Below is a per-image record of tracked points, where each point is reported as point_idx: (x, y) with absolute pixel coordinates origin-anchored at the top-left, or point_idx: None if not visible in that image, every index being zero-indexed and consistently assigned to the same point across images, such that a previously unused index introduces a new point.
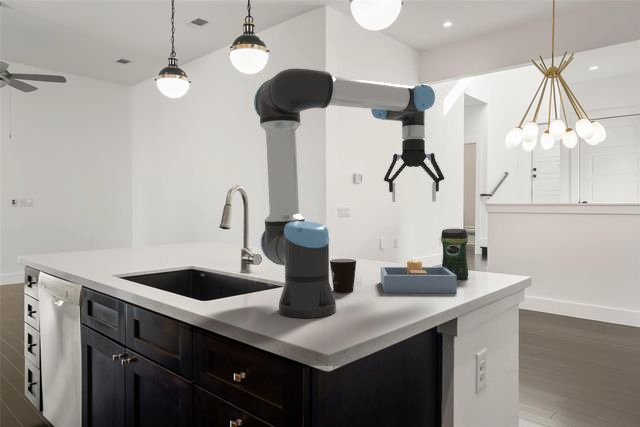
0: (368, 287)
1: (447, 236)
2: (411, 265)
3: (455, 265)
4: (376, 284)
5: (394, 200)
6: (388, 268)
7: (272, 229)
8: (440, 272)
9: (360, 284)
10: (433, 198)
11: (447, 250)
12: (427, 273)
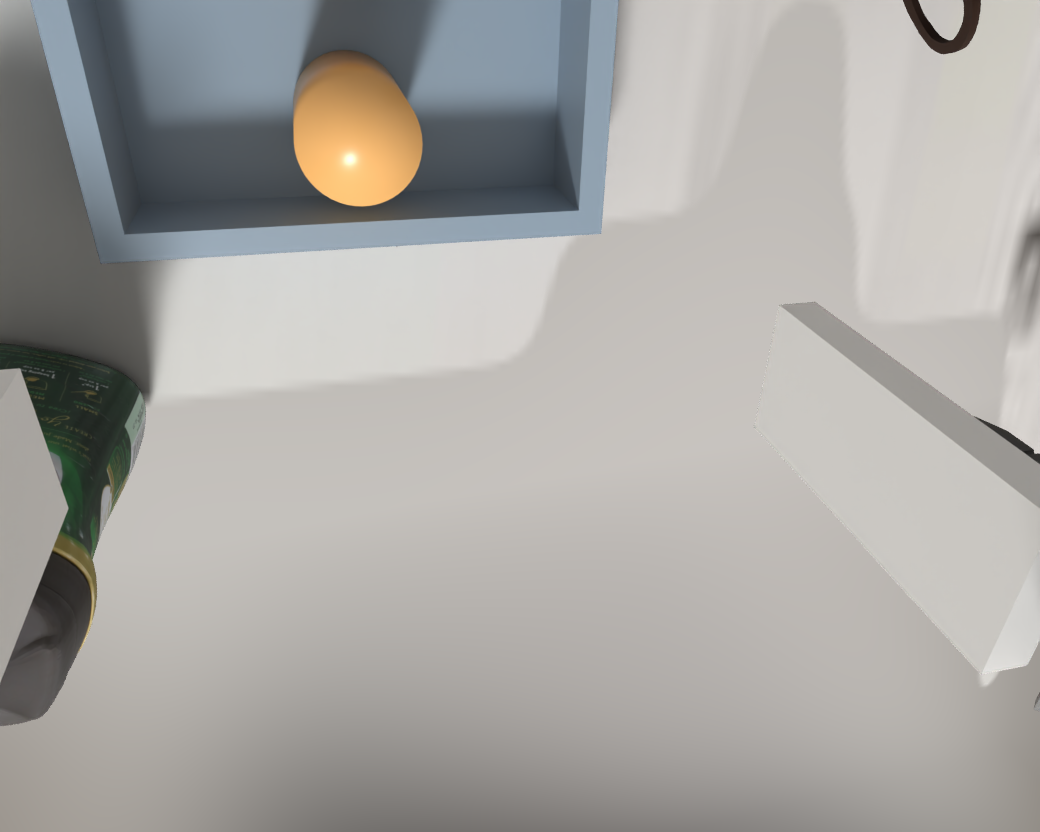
0: (669, 6)
1: None
2: (386, 80)
3: None
4: None
5: (805, 313)
6: (546, 209)
7: None
8: (140, 221)
9: (703, 118)
10: (3, 409)
11: None
12: (247, 214)
